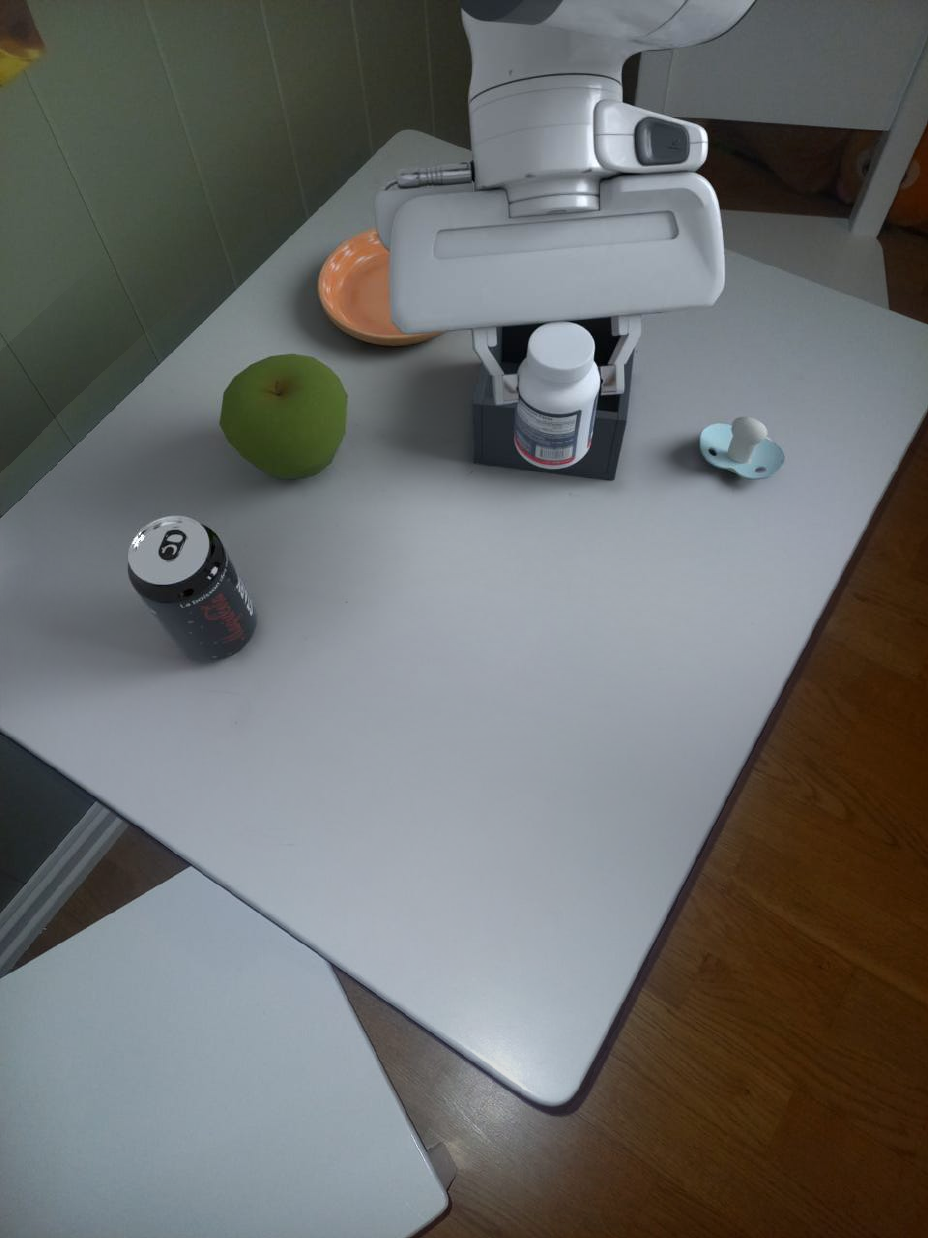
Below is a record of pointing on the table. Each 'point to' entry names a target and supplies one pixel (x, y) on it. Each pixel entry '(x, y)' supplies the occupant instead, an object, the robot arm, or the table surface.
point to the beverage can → (192, 587)
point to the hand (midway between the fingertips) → (559, 399)
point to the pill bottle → (556, 396)
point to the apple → (285, 415)
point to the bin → (499, 420)
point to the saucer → (362, 292)
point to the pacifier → (742, 448)
